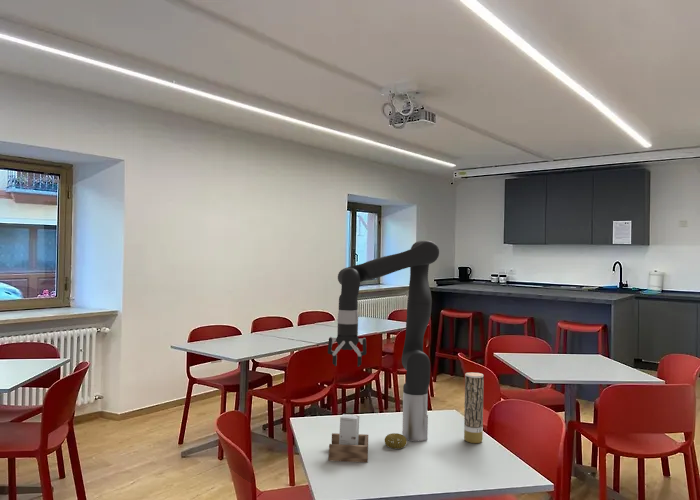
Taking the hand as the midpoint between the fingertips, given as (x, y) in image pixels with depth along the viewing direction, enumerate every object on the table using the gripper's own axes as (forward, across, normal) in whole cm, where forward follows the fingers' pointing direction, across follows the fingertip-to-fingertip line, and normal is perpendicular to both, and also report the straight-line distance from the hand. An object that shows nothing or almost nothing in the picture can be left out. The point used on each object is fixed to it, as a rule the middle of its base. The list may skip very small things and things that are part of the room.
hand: (346, 366), depth 193 cm
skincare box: (+27, -2, +12) cm, 30 cm away
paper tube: (+28, -48, -7) cm, 56 cm away
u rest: (+28, -2, +12) cm, 31 cm away
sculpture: (+28, -18, +2) cm, 34 cm away
